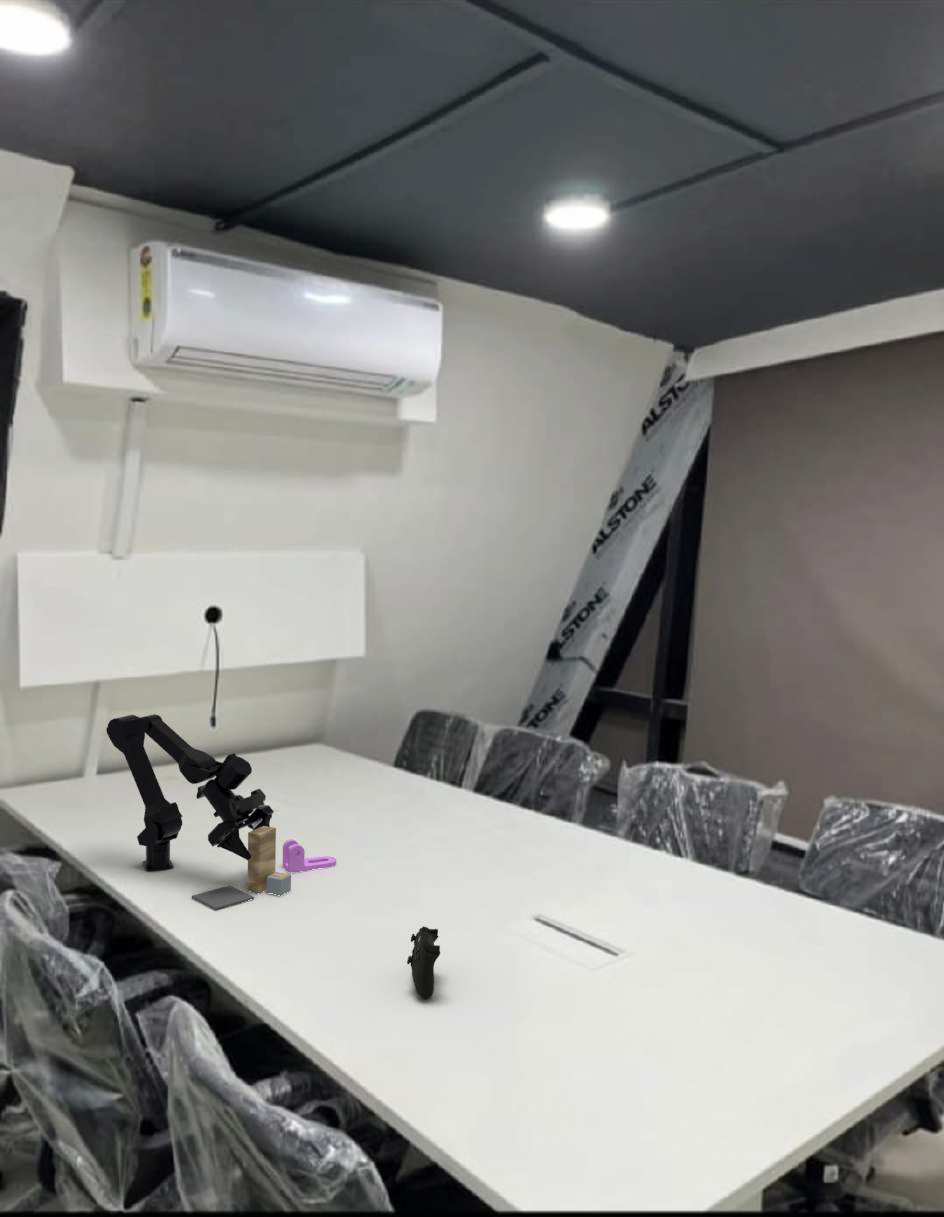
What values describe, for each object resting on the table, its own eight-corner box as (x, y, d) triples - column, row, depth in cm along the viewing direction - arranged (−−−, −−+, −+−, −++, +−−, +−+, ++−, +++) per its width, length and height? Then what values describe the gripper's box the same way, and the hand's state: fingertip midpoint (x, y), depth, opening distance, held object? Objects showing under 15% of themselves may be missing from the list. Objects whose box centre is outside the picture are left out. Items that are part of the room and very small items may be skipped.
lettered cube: (266, 893, 231) (266, 876, 231) (276, 888, 235) (276, 871, 234) (280, 896, 229) (281, 879, 229) (290, 891, 233) (291, 874, 233)
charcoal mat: (191, 898, 227) (191, 895, 227) (229, 887, 234) (229, 884, 234) (215, 910, 220) (215, 908, 220) (254, 899, 227) (254, 896, 227)
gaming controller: (405, 967, 194) (406, 918, 193) (436, 967, 195) (437, 918, 194) (406, 1002, 180) (408, 949, 179) (440, 1002, 181) (441, 948, 180)
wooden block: (247, 891, 232) (248, 832, 231) (263, 883, 237) (263, 825, 236) (259, 893, 231) (260, 834, 229) (275, 885, 236) (275, 827, 235)
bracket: (289, 874, 244) (290, 846, 244) (282, 867, 249) (282, 840, 249) (339, 866, 251) (339, 839, 250) (331, 860, 256) (331, 833, 255)
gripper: (217, 789, 226) (257, 844, 222) (267, 772, 243) (305, 822, 239) (190, 818, 230) (229, 872, 226) (241, 799, 247) (277, 849, 243)
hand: (262, 853), depth 233 cm, fingers open, 9 cm apart
